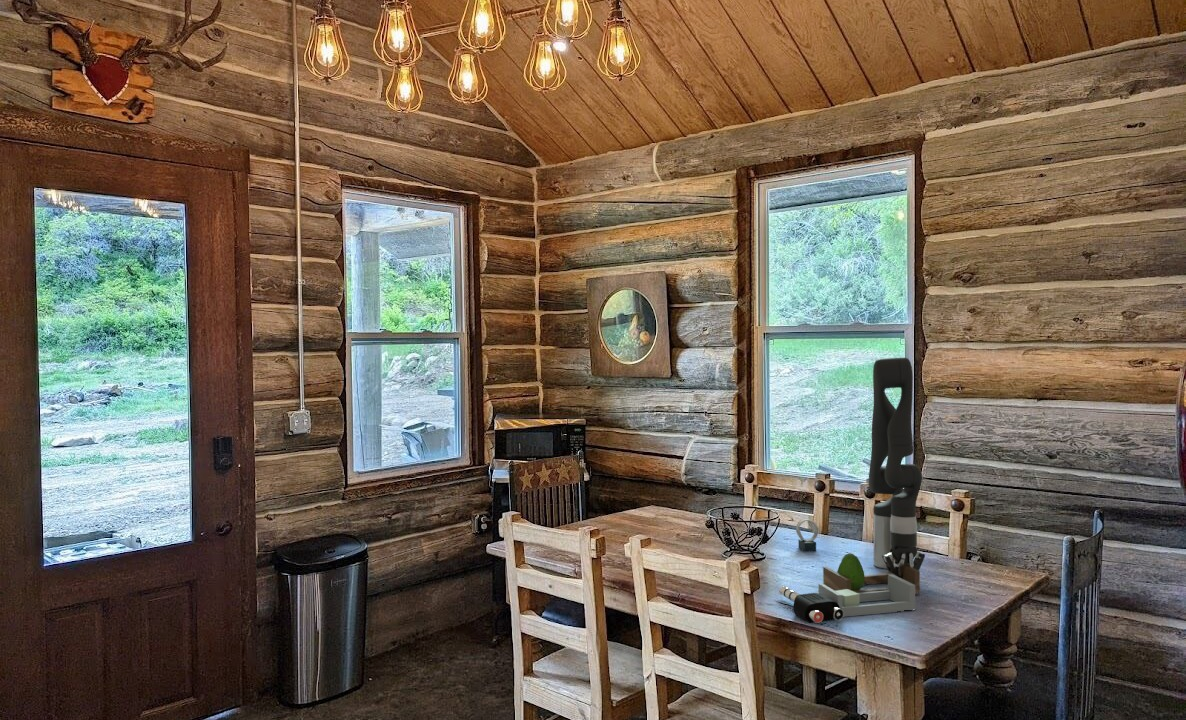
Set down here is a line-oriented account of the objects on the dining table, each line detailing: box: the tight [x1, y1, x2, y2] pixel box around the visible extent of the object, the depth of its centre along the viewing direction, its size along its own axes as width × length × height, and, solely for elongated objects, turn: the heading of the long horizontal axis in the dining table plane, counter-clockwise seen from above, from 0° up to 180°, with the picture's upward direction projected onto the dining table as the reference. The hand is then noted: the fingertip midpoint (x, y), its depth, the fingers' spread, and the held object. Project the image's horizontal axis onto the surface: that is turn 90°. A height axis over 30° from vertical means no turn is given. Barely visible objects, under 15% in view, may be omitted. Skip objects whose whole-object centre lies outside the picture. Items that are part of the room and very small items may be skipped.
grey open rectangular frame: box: [817, 574, 916, 618], centre depth 229 cm, size 24×11×7 cm, turn 102°
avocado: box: [836, 552, 865, 591], centre depth 242 cm, size 8×8×12 cm
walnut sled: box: [822, 559, 921, 595], centre depth 244 cm, size 24×14×7 cm, turn 102°
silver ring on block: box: [795, 518, 820, 553], centre depth 293 cm, size 6×8×11 cm
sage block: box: [836, 589, 861, 607], centre depth 228 cm, size 5×5×5 cm
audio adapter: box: [778, 585, 844, 624], centre depth 228 cm, size 11×5×25 cm
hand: (903, 586), depth 247 cm, fingers closed
